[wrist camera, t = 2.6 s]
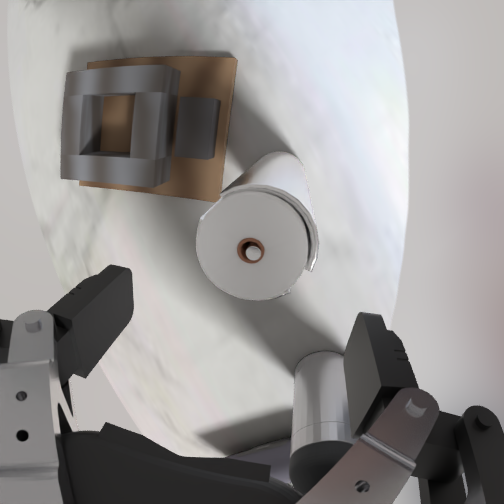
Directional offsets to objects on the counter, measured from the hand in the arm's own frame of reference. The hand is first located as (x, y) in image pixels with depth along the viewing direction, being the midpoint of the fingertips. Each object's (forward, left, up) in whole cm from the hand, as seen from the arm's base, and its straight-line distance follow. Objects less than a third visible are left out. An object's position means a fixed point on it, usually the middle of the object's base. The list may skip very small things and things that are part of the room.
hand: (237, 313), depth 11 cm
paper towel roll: (0, 0, -31) cm, 31 cm away
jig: (+18, -5, -30) cm, 35 cm away
